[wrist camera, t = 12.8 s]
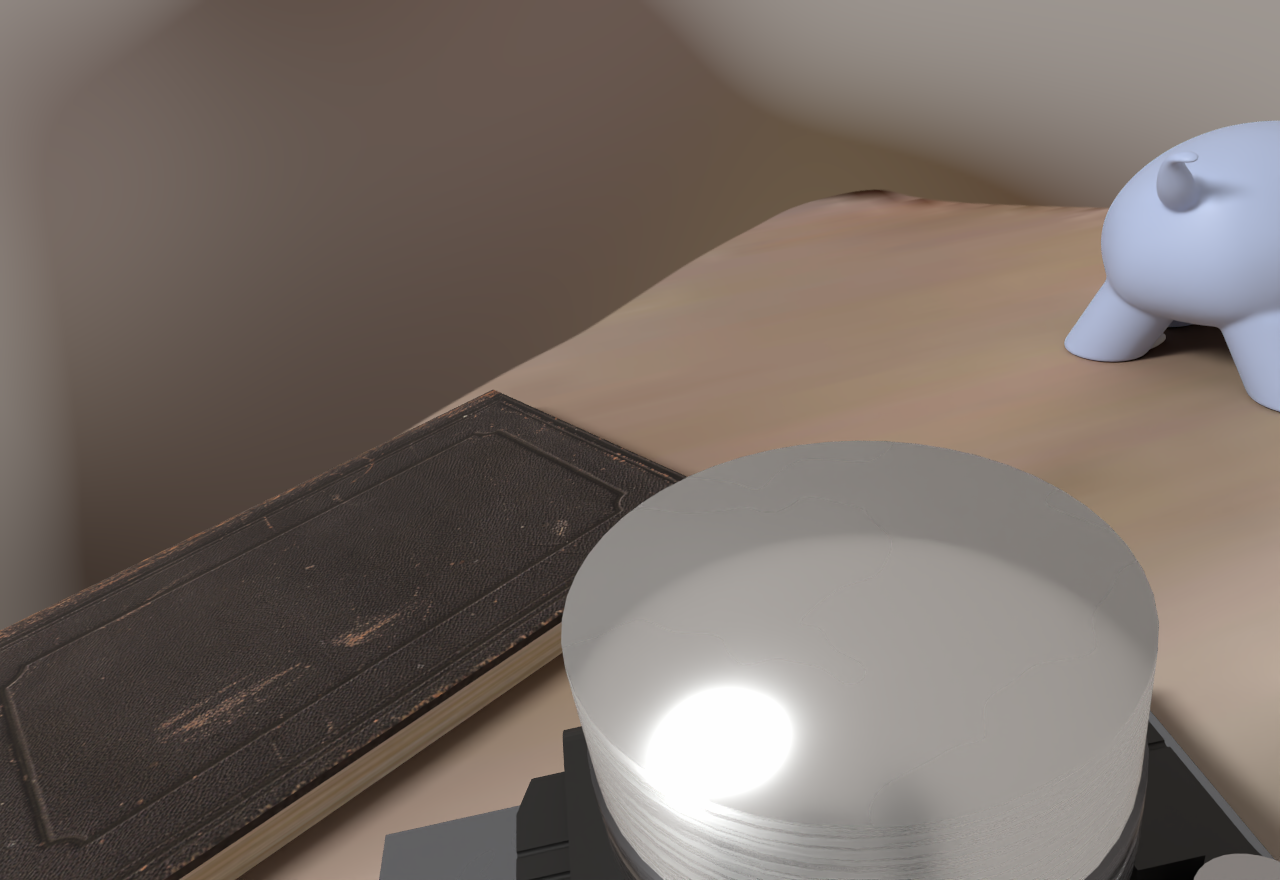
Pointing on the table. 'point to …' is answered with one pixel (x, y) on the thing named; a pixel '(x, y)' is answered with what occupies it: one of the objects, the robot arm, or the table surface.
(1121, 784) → the steel piston
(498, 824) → the grey square base plate
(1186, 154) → the hippopotamus toy
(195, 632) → the hardcover book
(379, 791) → the table surface
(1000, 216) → the table surface
